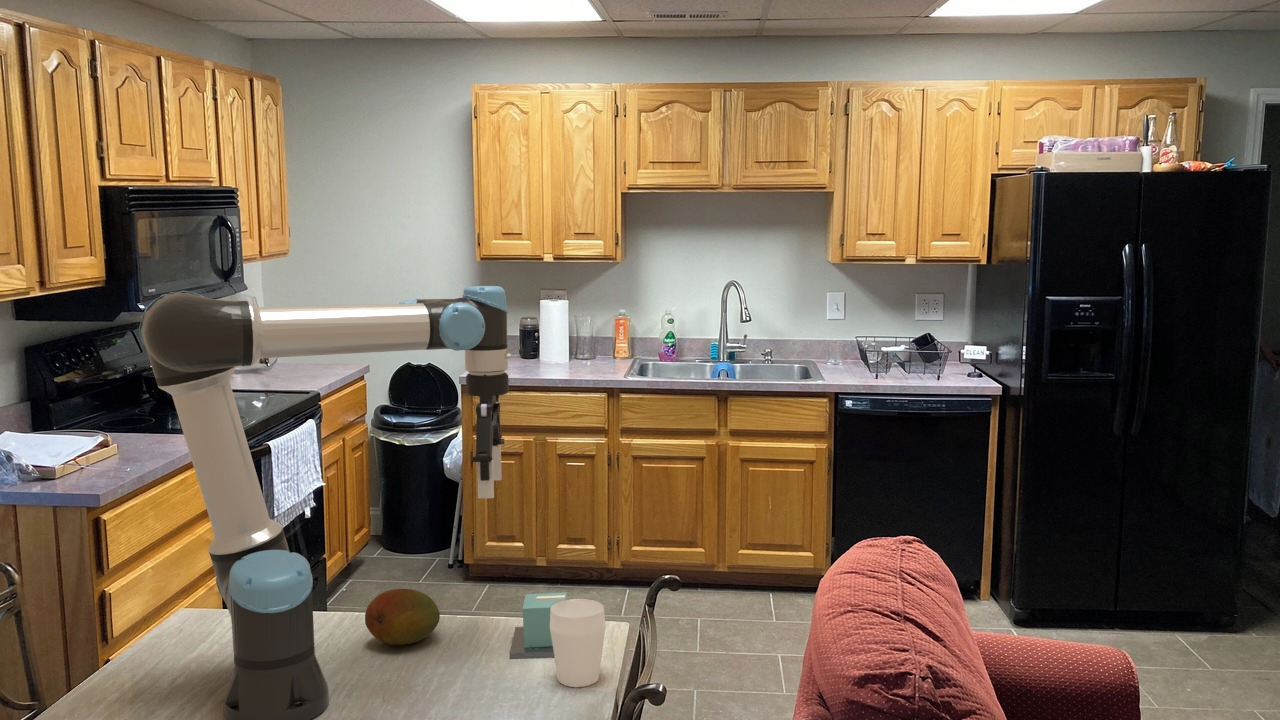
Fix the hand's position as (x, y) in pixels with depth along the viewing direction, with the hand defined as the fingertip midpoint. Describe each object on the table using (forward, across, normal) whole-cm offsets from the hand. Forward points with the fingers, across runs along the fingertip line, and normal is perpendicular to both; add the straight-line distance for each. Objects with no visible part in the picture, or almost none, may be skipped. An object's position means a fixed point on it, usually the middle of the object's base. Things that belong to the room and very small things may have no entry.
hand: (490, 488), depth 183 cm
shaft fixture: (+27, -7, -10) cm, 29 cm away
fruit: (+27, -4, +16) cm, 31 cm away
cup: (+27, -22, -16) cm, 38 cm away
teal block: (+26, -7, -10) cm, 28 cm away
